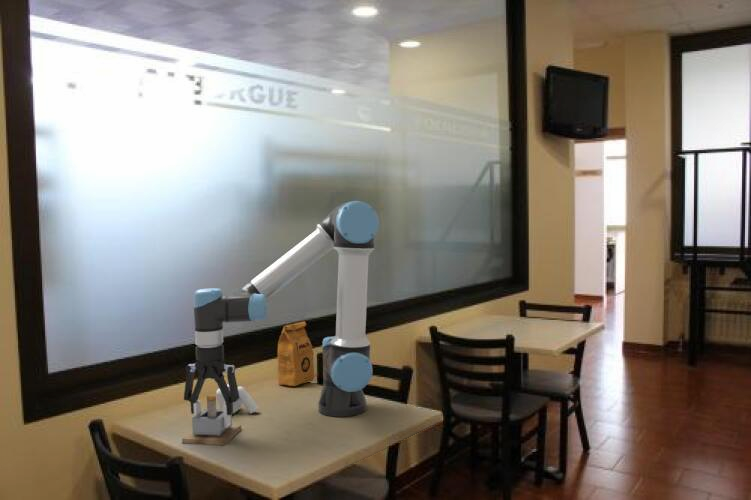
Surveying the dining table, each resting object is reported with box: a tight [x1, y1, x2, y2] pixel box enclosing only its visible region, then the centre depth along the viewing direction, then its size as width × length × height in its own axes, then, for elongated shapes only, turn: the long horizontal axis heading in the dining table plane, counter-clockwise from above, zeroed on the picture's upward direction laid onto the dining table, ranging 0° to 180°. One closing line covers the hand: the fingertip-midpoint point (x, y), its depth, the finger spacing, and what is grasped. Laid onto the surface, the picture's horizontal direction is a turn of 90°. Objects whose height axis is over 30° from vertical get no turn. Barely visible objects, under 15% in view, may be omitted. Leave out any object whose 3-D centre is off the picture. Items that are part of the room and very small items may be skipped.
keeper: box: [181, 394, 242, 446], centre depth 172 cm, size 12×12×11 cm
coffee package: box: [276, 321, 315, 387], centre depth 224 cm, size 10×12×22 cm
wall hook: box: [215, 383, 259, 415], centre depth 192 cm, size 8×10×10 cm
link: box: [191, 408, 233, 436], centre depth 172 cm, size 8×8×4 cm
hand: (212, 425), depth 172 cm, fingers closed on link, 8 cm apart
